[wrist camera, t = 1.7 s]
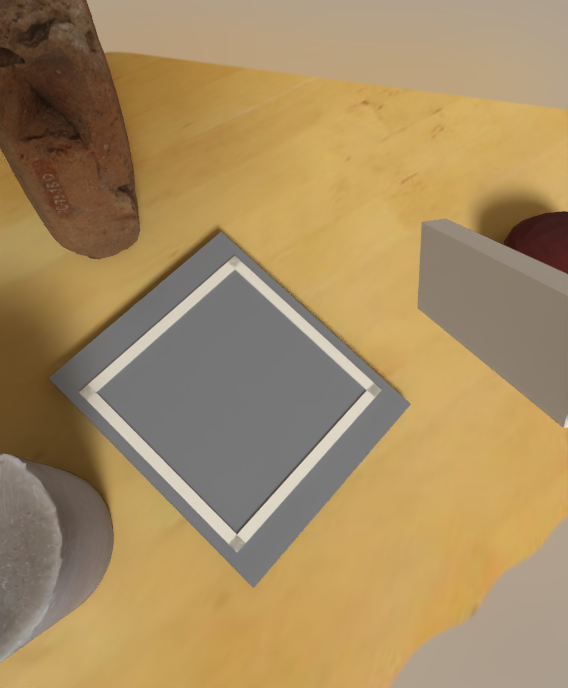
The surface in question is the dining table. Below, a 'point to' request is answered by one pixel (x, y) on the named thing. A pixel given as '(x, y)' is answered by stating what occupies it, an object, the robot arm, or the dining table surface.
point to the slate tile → (232, 403)
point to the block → (66, 126)
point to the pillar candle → (47, 547)
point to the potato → (543, 239)
